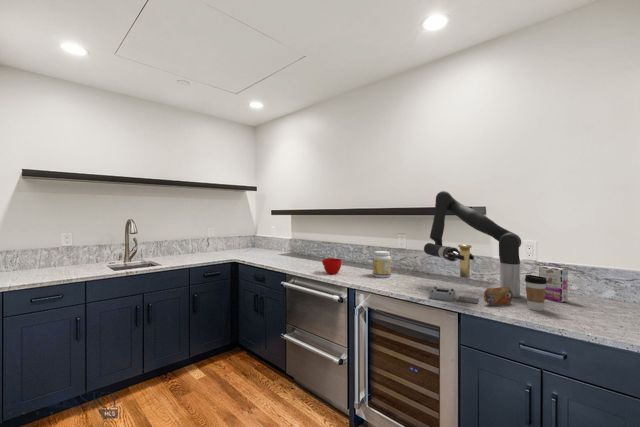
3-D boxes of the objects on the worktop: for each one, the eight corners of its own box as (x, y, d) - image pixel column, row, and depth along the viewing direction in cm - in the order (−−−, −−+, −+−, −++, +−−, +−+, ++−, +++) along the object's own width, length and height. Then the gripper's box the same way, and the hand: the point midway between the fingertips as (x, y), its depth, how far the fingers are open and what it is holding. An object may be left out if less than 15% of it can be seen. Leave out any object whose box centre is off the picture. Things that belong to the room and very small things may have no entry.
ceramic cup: (329, 270, 233) (329, 257, 233) (345, 273, 220) (345, 259, 220) (316, 272, 224) (316, 258, 224) (331, 276, 211) (331, 261, 211)
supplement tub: (369, 275, 216) (369, 251, 216) (385, 274, 220) (385, 250, 220) (378, 278, 205) (378, 253, 205) (394, 277, 208) (394, 252, 208)
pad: (478, 299, 156) (478, 298, 156) (477, 304, 149) (477, 302, 149) (459, 297, 161) (459, 295, 161) (457, 301, 153) (457, 300, 153)
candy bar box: (568, 301, 154) (568, 269, 154) (561, 302, 152) (561, 269, 152) (544, 296, 164) (545, 265, 164) (538, 297, 162) (538, 265, 162)
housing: (455, 296, 162) (455, 288, 162) (452, 301, 153) (452, 293, 153) (433, 293, 168) (433, 286, 168) (429, 298, 158) (429, 290, 158)
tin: (487, 306, 145) (487, 288, 145) (482, 304, 148) (482, 287, 148) (513, 304, 149) (513, 286, 149) (507, 302, 153) (507, 285, 152)
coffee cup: (525, 304, 148) (525, 273, 148) (547, 308, 143) (547, 276, 143) (523, 309, 142) (523, 276, 141) (546, 312, 136) (546, 279, 136)
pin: (471, 276, 156) (471, 245, 156) (470, 278, 151) (470, 246, 151) (458, 275, 160) (459, 244, 159) (457, 277, 154) (457, 245, 154)
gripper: (436, 246, 168) (455, 250, 151) (460, 246, 171) (481, 250, 154) (436, 260, 168) (455, 265, 151) (460, 259, 171) (481, 265, 154)
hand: (468, 257), depth 153 cm, fingers closed on pin, 4 cm apart
